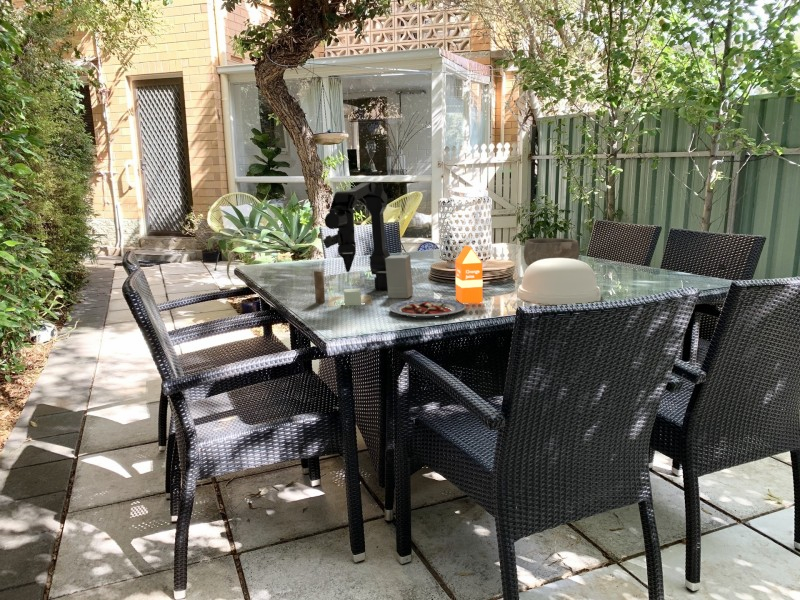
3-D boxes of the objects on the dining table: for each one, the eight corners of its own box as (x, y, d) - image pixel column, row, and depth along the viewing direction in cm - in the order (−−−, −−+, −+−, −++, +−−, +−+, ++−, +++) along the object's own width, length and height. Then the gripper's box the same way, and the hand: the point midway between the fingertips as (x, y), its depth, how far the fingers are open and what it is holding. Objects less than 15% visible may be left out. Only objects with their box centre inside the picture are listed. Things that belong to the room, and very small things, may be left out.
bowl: (585, 276, 269) (586, 242, 266) (529, 278, 270) (529, 243, 267) (571, 268, 293) (571, 236, 290) (519, 269, 293) (519, 238, 290)
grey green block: (360, 301, 230) (360, 288, 229) (361, 305, 224) (360, 291, 223) (344, 302, 229) (344, 289, 228) (344, 305, 223) (344, 292, 222)
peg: (325, 302, 232) (323, 270, 230) (324, 303, 229) (323, 271, 227) (315, 302, 232) (314, 270, 230) (315, 304, 229) (313, 272, 226)
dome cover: (499, 298, 230) (499, 261, 227) (539, 286, 252) (539, 251, 249) (581, 309, 209) (583, 267, 207) (616, 294, 232) (618, 257, 229)
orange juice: (475, 298, 231) (475, 244, 227) (482, 303, 222) (482, 247, 218) (455, 299, 230) (454, 245, 226) (461, 304, 221) (461, 248, 217)
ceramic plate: (408, 325, 194) (408, 315, 194) (378, 309, 218) (377, 301, 217) (479, 315, 204) (479, 306, 204) (443, 301, 228) (443, 293, 227)
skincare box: (413, 295, 240) (412, 254, 236) (407, 299, 233) (406, 257, 230) (392, 294, 242) (391, 254, 239) (386, 298, 236) (384, 256, 233)
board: (370, 295, 242) (370, 295, 242) (372, 305, 224) (372, 304, 224) (329, 297, 240) (329, 296, 240) (327, 307, 223) (327, 306, 223)
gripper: (324, 225, 231) (326, 267, 234) (322, 229, 213) (324, 274, 216) (354, 224, 232) (356, 266, 235) (354, 228, 214) (356, 273, 217)
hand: (348, 270), depth 226 cm, fingers open, 9 cm apart
